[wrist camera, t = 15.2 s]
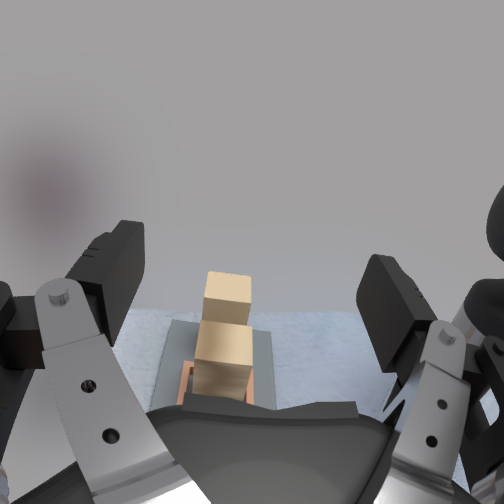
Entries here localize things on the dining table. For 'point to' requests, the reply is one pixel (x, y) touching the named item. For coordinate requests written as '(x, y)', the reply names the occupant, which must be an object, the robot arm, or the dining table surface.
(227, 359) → the maple pillar
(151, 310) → the dining table surface
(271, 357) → the base board
